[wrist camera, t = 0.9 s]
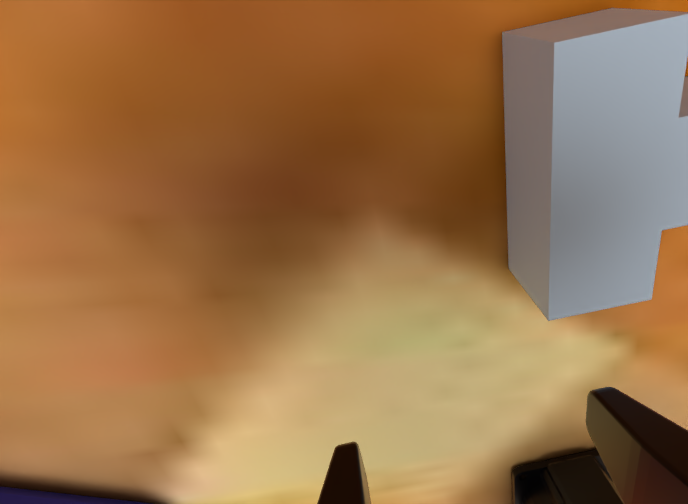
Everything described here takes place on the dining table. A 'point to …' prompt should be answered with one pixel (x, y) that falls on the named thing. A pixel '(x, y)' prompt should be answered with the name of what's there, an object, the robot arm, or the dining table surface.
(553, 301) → the t block
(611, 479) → the robot arm
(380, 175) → the dining table surface
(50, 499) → the blue and olive box
